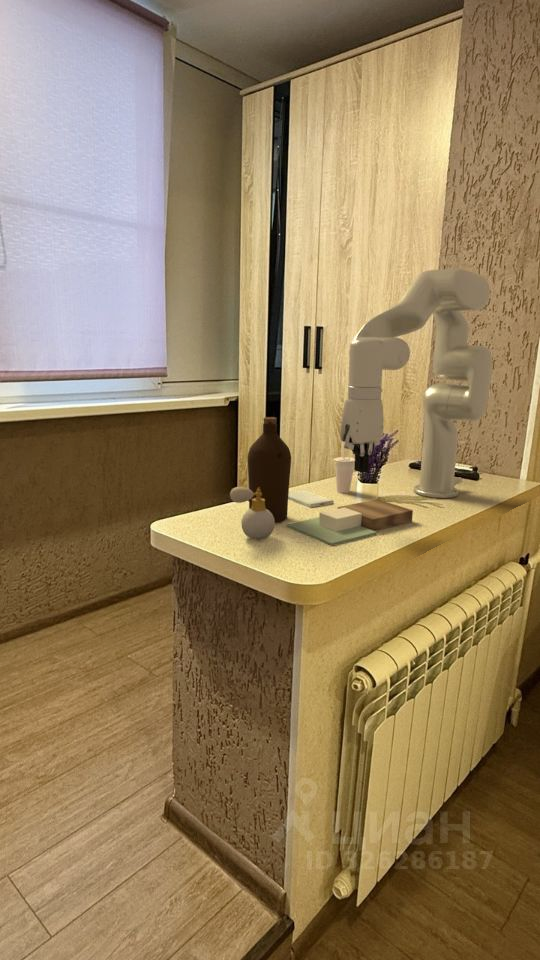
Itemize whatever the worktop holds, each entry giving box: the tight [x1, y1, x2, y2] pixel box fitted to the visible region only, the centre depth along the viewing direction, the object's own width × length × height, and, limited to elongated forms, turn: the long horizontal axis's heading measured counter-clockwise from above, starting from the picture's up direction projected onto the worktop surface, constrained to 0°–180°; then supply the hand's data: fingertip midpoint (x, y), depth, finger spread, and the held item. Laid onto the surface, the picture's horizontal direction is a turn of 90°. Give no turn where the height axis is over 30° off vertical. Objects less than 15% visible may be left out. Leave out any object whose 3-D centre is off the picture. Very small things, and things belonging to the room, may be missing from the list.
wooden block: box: [337, 499, 414, 532], centre depth 149 cm, size 14×12×3 cm
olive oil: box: [246, 416, 292, 524], centre depth 146 cm, size 11×11×25 cm
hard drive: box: [288, 489, 334, 509], centre depth 166 cm, size 2×8×12 cm
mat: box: [285, 516, 378, 547], centre depth 140 cm, size 14×16×1 cm
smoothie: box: [333, 443, 355, 494], centre depth 174 cm, size 6×6×14 cm
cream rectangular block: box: [318, 507, 362, 531], centre depth 142 cm, size 8×6×3 cm
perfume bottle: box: [229, 486, 276, 541], centre depth 132 cm, size 8×10×12 cm
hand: (361, 471), depth 143 cm, fingers closed
